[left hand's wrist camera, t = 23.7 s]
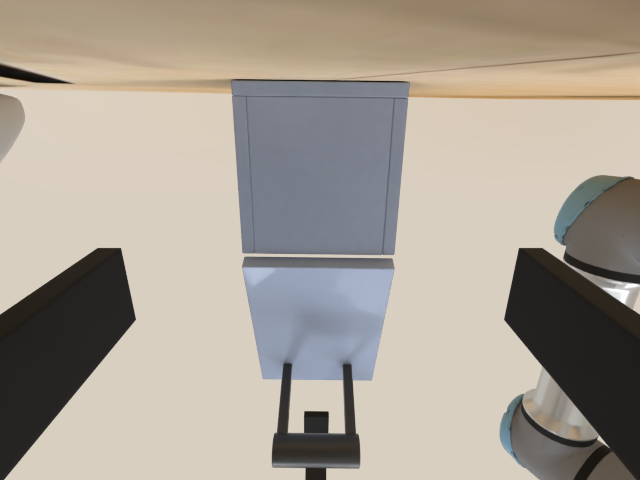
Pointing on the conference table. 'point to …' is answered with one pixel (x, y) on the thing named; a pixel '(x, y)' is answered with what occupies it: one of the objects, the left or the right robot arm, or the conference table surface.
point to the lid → (317, 340)
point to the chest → (319, 165)
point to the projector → (9, 122)
